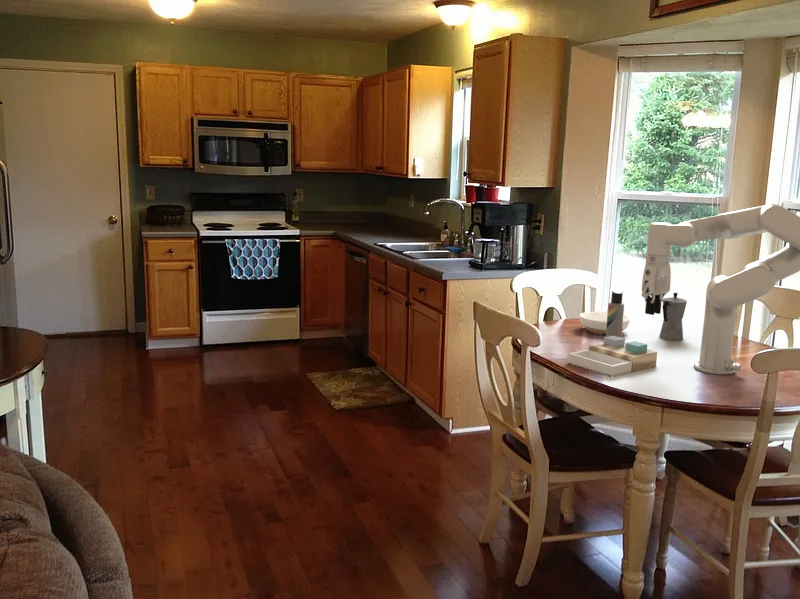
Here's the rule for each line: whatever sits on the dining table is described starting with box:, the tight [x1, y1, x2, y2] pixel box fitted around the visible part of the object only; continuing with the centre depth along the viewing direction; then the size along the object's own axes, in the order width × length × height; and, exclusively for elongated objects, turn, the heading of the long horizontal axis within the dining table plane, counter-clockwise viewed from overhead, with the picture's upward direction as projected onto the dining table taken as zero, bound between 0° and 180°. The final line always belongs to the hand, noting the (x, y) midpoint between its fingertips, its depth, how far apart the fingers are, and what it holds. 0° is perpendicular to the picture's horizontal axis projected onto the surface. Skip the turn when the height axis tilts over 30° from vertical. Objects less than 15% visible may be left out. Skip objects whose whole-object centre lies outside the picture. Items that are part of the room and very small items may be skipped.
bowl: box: [579, 311, 631, 335], centre depth 295 cm, size 20×20×6 cm
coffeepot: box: [659, 292, 688, 341], centre depth 285 cm, size 15×9×18 cm, turn 134°
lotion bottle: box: [605, 289, 625, 338], centre depth 275 cm, size 6×6×20 cm
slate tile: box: [603, 336, 626, 348], centre depth 253 cm, size 5×5×2 cm
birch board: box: [588, 341, 658, 373], centre depth 250 cm, size 18×13×5 cm
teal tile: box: [625, 340, 648, 354], centre depth 246 cm, size 5×5×2 cm
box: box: [567, 349, 632, 378], centre depth 243 cm, size 18×10×4 cm, turn 36°
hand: (652, 313), depth 249 cm, fingers open, 2 cm apart
